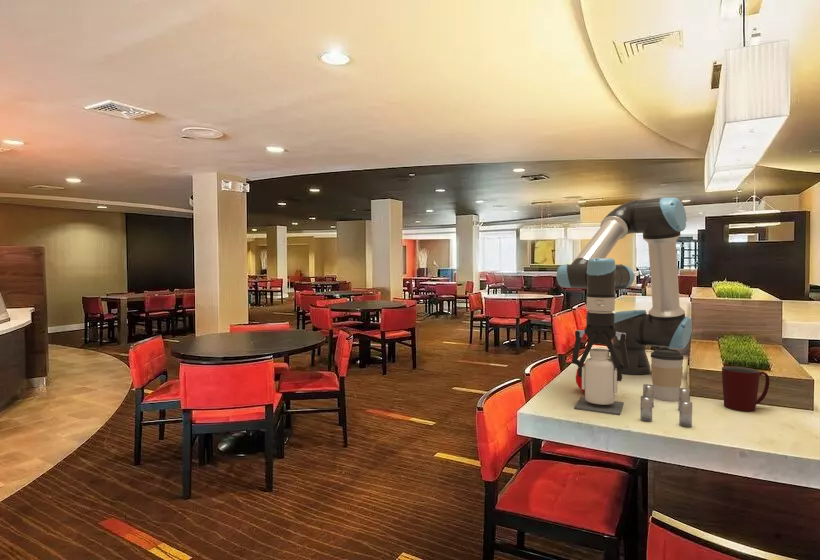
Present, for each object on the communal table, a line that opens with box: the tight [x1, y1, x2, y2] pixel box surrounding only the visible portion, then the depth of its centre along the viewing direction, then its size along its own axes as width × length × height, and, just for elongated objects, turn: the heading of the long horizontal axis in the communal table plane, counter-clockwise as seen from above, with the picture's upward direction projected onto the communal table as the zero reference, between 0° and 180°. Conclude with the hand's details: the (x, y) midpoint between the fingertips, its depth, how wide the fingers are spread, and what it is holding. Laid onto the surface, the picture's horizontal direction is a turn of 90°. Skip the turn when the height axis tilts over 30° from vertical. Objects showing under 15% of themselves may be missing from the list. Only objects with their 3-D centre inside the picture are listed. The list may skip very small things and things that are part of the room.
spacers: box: [639, 383, 693, 428], centre depth 131 cm, size 17×12×6 cm
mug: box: [721, 365, 770, 412], centre depth 137 cm, size 12×9×11 cm
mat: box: [573, 396, 625, 416], centre depth 139 cm, size 12×12×1 cm
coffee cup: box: [650, 347, 684, 402], centre depth 147 cm, size 9×9×15 cm
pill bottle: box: [584, 348, 615, 405], centre depth 138 cm, size 8×8×15 cm
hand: (599, 390), depth 139 cm, fingers closed on pill bottle, 8 cm apart
